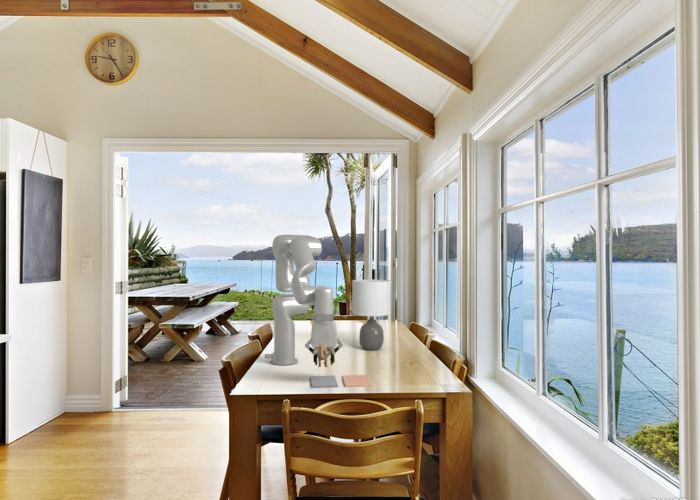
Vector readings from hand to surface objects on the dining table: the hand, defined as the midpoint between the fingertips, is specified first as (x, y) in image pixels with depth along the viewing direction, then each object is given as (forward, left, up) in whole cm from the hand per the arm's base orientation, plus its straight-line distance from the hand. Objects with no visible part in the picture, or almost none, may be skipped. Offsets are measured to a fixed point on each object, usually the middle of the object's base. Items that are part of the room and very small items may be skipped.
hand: (323, 363), depth 198 cm
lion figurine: (+1, +1, -1) cm, 2 cm away
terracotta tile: (+13, 0, -8) cm, 15 cm away
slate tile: (0, 0, -8) cm, 8 cm away
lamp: (+28, +67, -8) cm, 73 cm away
